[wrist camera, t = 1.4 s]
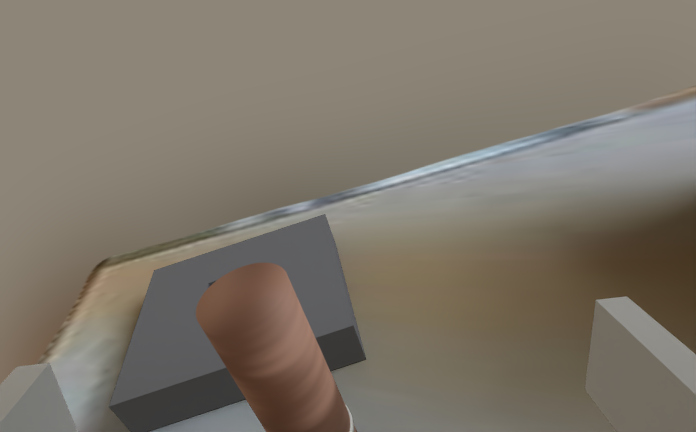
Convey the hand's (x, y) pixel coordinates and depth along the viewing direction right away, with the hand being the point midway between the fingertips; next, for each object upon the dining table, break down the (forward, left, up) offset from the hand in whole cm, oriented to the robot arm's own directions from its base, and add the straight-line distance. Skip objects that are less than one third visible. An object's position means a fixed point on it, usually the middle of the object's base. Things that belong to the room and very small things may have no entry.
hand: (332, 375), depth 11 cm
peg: (+5, -11, -21) cm, 24 cm away
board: (+11, -28, -21) cm, 36 cm away
